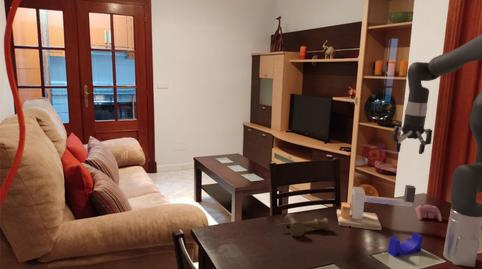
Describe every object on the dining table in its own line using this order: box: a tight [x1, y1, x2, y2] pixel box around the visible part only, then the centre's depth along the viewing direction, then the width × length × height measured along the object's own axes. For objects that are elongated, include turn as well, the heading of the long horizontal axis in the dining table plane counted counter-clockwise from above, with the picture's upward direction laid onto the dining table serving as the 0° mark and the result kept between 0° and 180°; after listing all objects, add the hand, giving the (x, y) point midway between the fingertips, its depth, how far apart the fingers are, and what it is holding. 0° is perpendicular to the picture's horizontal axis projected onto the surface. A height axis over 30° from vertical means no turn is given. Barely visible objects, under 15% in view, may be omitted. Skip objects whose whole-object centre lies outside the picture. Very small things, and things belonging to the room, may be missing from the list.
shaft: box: [364, 184, 416, 208], centre depth 141 cm, size 3×18×8 cm, turn 80°
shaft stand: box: [336, 186, 383, 231], centre depth 144 cm, size 13×16×14 cm
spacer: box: [340, 201, 351, 219], centre depth 145 cm, size 5×3×5 cm, turn 170°
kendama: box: [277, 213, 330, 238], centre depth 134 cm, size 6×10×20 cm
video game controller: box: [415, 204, 443, 222], centre depth 150 cm, size 10×5×7 cm, turn 86°
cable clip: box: [387, 232, 424, 258], centre depth 122 cm, size 12×4×6 cm, turn 112°
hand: (409, 152), depth 142 cm, fingers open, 8 cm apart
